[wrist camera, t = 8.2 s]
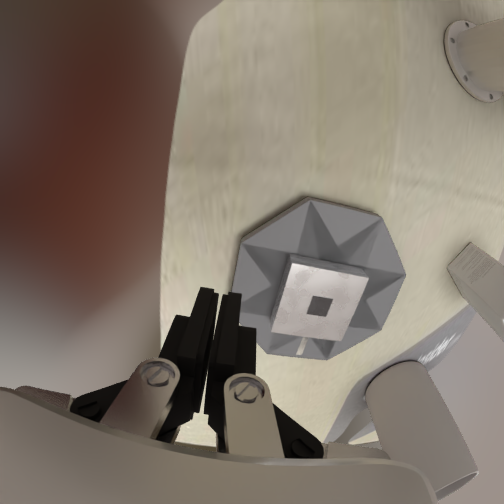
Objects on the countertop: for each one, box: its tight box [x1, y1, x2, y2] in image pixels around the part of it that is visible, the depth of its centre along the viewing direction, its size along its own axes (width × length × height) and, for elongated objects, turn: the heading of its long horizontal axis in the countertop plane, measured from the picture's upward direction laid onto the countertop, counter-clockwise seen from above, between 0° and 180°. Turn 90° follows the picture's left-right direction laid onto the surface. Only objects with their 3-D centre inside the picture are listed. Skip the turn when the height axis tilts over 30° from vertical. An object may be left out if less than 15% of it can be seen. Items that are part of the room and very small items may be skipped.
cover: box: [270, 254, 369, 341], centre depth 33 cm, size 9×9×3 cm
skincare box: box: [447, 243, 504, 342], centre depth 29 cm, size 8×6×15 cm
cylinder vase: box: [365, 361, 479, 501], centre depth 33 cm, size 12×12×25 cm
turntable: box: [231, 197, 406, 360], centre depth 34 cm, size 21×21×2 cm
